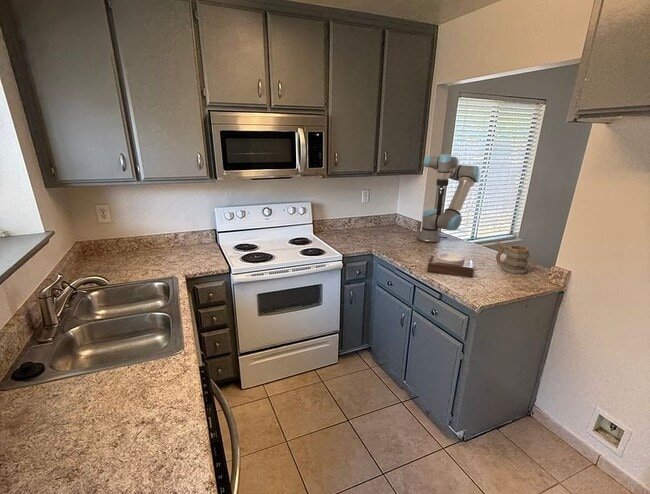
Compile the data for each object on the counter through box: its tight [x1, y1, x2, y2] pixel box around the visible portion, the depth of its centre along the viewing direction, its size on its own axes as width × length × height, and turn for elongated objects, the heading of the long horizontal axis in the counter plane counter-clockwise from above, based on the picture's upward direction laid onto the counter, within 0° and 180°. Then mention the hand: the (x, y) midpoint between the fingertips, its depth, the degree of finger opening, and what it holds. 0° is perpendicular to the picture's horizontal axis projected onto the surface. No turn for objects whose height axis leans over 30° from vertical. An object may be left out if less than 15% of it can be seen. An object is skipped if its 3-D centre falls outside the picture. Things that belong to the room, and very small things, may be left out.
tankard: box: [494, 241, 531, 275], centre depth 212 cm, size 20×13×15 cm, turn 42°
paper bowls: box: [436, 252, 465, 266], centre depth 212 cm, size 15×15×8 cm
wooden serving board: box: [427, 255, 474, 279], centre depth 211 cm, size 17×24×6 cm
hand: (438, 214), depth 241 cm, fingers closed
